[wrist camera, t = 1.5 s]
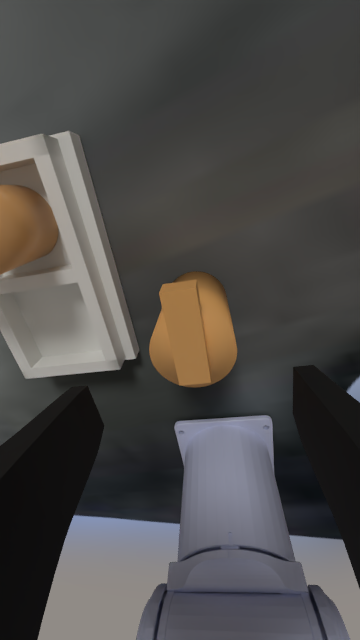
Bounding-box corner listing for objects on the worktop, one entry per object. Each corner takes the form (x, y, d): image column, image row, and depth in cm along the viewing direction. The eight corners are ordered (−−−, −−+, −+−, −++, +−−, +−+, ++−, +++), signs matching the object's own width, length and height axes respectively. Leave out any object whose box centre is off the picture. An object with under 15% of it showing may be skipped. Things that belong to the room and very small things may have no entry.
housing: (139, 349, 20) (108, 426, 14) (38, 360, 21) (-34, 435, 15) (78, 135, 14) (-24, 91, 8) (-55, 167, 16) (-239, 152, 9)
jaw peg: (229, 323, 18) (243, 398, 12) (172, 330, 19) (155, 404, 12) (220, 244, 16) (231, 282, 10) (156, 255, 17) (125, 297, 10)
